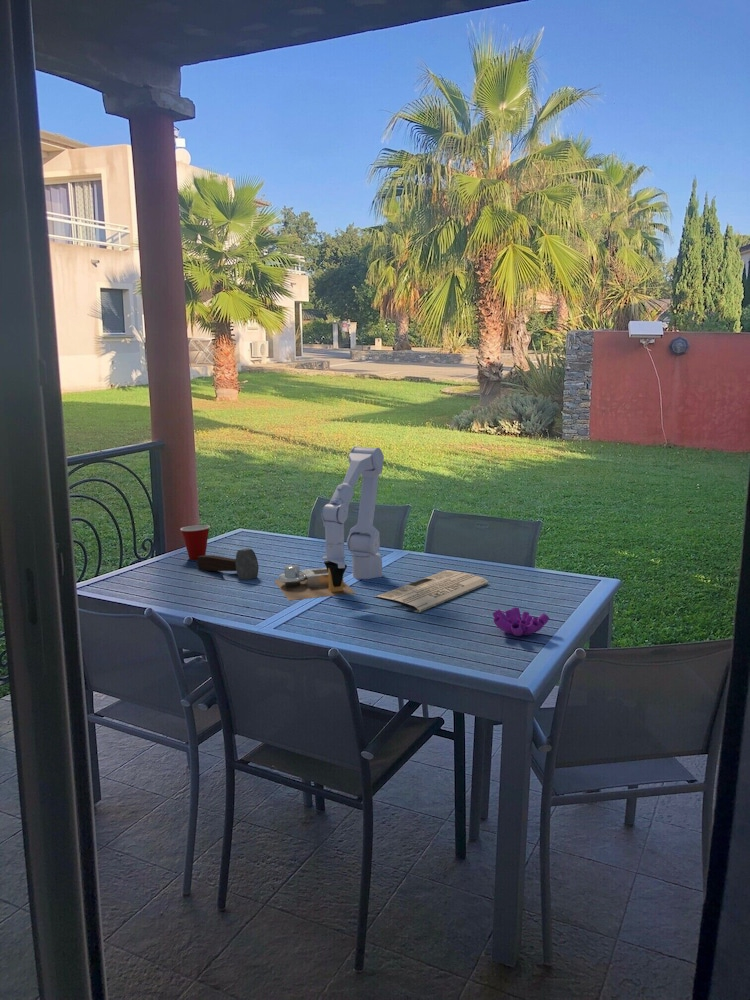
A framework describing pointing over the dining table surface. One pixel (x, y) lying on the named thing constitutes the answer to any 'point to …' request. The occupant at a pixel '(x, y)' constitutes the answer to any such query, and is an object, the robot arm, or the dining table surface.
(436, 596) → the newspaper
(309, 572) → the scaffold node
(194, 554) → the plastic cup
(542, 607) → the dining table surface
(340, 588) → the tan rectangular prism
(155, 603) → the dining table surface
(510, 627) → the purple coral
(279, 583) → the board
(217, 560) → the hammer
